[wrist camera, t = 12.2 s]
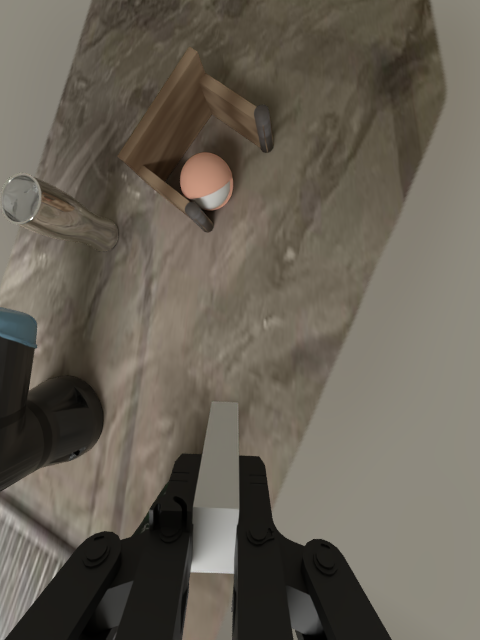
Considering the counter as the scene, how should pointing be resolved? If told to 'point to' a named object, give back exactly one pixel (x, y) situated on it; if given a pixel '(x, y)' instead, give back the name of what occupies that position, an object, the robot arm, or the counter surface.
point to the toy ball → (206, 181)
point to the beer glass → (54, 213)
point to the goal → (189, 128)
